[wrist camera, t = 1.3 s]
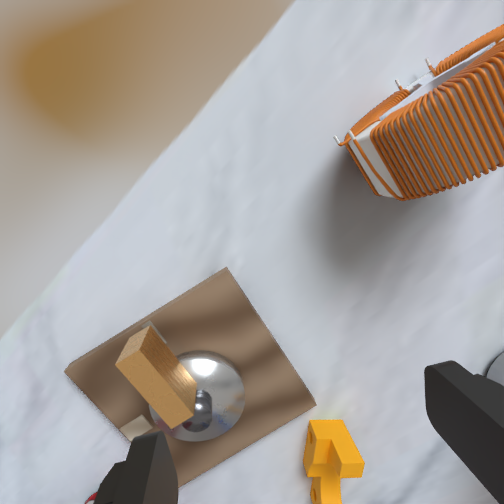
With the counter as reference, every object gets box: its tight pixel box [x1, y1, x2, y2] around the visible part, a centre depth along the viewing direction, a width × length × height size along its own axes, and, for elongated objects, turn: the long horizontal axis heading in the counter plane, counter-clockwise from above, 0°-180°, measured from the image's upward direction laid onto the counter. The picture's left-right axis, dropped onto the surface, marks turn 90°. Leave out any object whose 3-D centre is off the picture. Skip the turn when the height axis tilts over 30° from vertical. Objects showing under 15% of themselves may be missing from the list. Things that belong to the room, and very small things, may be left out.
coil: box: [334, 24, 504, 201], centre depth 24 cm, size 7×15×15 cm, turn 127°
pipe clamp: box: [303, 420, 365, 504], centre depth 37 cm, size 12×4×6 cm, turn 175°
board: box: [64, 267, 316, 488], centre depth 35 cm, size 20×20×2 cm
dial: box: [115, 325, 245, 442], centre depth 30 cm, size 15×10×6 cm, turn 31°
